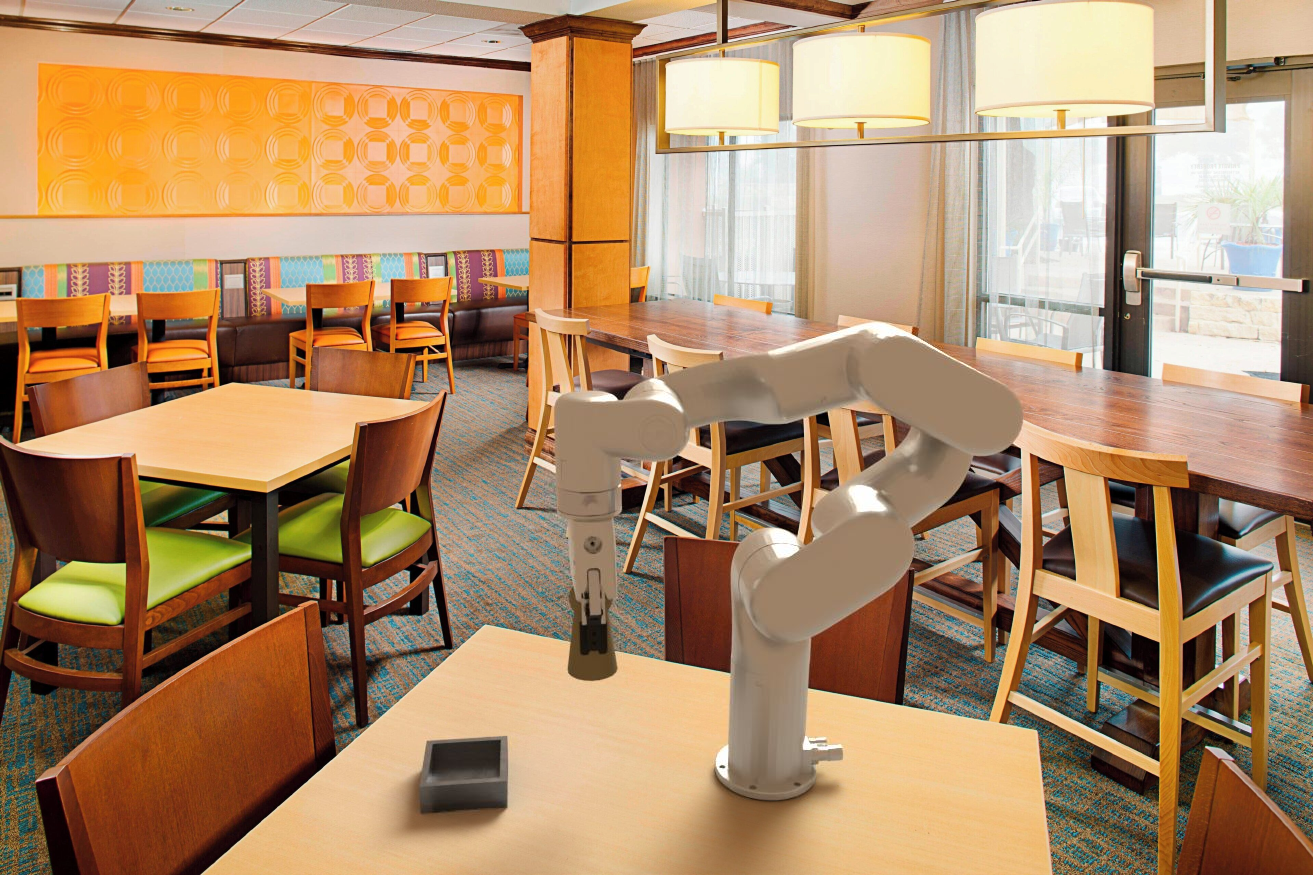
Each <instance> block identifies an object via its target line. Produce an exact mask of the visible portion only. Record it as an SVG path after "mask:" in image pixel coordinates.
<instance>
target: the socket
mask: <svg viewBox="0 0 1313 875" xmlns="http://www.w3.org/2000/svg"><path fill="white" fill-rule="evenodd" d="M508 746H509V745H508V735H500V736H483V737H482V736H481V737H469V738H468V737H467V738H466V737H465V738H450V739H449V738H448V739H433V740H426V742H425V750H424V755H423V760H422V761H423V762H422V768H421V774H420V781H419V784H418V785H419V786H418V787H419V806H420V807H419V808H420V813H419V814H430V813H431V814H433V813H434V814H435V813H446V812H447V813H448V812H459V811H460V812H461V811H462V812H463V811H474V810H489V809H491V810H492V809H500V808H501V809H503V808H504V809H505V808H508V802H509V801H508V800H509V799H508V794H509V793H508V789H509V786H508V783H509V782H508V781H509V780H508V778H509V754H508V753H509V747H508Z"/></svg>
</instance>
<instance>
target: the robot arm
mask: <svg viewBox="0 0 1313 875" xmlns="http://www.w3.org/2000/svg"><path fill="white" fill-rule="evenodd" d="M866 401H868V402H869V403H870V404H871V405H873V406H875V407H876V408H878V409H880V410H881V411H883V412H885V413H887V414H889V415H890V416H892V417H894V418H895V419H897V420H899V421H901V422H903V423H904V424H907V425H909V426H910V429H909V431H908V433H907V435H906V436H905V438H904V439H903V440H902V441H901V443H899V445H898V446H897V447H896V448H894V449H893V450H892V451H890V452H889V453H888V454H886V455H885V456H884V457H883V458H881V459H879V461H877V462H875V463H873V464H872V465H871V466H869V467H868V468H865V469H864V470H862V471H861V472H859V473H858V474H856V475H854V476H853V477H851V478H850V479H848V480H847V481H846V482H844V483H841V484H840V485H839V486H837V487H836V488H833V489H832V490H831V491H829V492H828V493H826V494H824V495H823V497H822V498H820V499H819V500H818V502H816V504H815V505H814V508H813V510H812V513H811V515H810V516H811V517H810V526H811V527H810V528H811V531H812V534H813V536H814V540H812V541H811V542H809V543H808V544H806V545H805V544H804V542H803V541H802V540H801V539H799V538H798V537H797V536H796V535H795V534H793V533H792V532H790V531H789V530H786V529H783V528H779V527H762V528H760V529H757V530H754V531H752V532H751V533H749V534H748V535H746V536H745V537H744V538H743V539H742V541H740V542H739V544H738V546H736V550H735V551H734V554H733V556H732V557H733V558H732V561H731V567H730V591H731V592H730V593H731V594H730V595H731V596H730V597H731V624H732V626H731V653H730V654H731V656H730V674H729V676H730V679H729V680H730V681H729V683H730V684H729V706H728V707H729V709H728V713H729V714H728V737H727V738H728V740H727V742H728V744H727V745H726V746H724V747H722V749H720V750H719V751H718V753H717V755H716V756H715V760H714V771H715V775H716V777H717V779H718V780H719V782H721V783H722V784H723V785H724V786H725V787H726V788H728V789H729V790H731V791H732V792H734V793H736V794H738V795H741V796H744V797H745V798H750V799H754V800H760V801H761V800H762V801H782V800H788V799H791V798H792V799H793V798H796V797H798V796H800V795H802V794H804V793H806V792H807V791H809V790H810V789H811V788H812V787H813V785H814V784H815V782H816V780H817V779H816V778H817V776H816V775H817V765H818V764H819V762H825V761H827V762H834V761H835V762H837V761H843V759H844V751H843V748H842V747H843V746H842V745H841V744H828V742H827V738H826V737H825V736H815V737H812V738H811V737H810V738H809V737H808V736H807V735H806V732H807V731H806V729H807V716H808V715H807V711H808V697H809V696H808V694H809V693H808V692H809V679H810V678H809V677H810V674H809V673H810V664H811V663H810V662H811V647H812V646H811V643H812V638H813V637H815V636H816V635H818V634H819V635H820V634H821V633H822V632H824V631H826V630H828V629H829V628H830V627H832V626H833V625H835V624H837V623H839V622H841V621H842V620H844V619H845V618H847V617H848V616H850V615H851V614H853V613H855V612H856V611H858V610H859V609H861V608H863V607H864V606H866V605H868V604H869V603H871V602H872V601H874V600H875V599H877V598H878V597H880V596H881V595H883V594H885V593H886V592H888V591H889V590H890V589H892V588H893V587H894V586H895V585H896V584H897V583H898V582H900V580H901V579H902V578H903V577H904V576H905V574H906V572H907V571H908V570H909V568H910V566H911V563H912V561H913V558H914V556H915V555H914V553H915V546H916V545H915V537H914V533H913V531H912V528H913V527H914V526H916V525H917V524H919V523H920V522H921V521H922V520H924V519H925V518H927V517H928V516H929V515H931V514H933V513H934V512H935V511H937V510H938V509H939V508H940V507H942V506H943V505H945V503H947V502H948V501H949V500H950V499H951V498H952V497H953V496H954V495H955V494H956V492H957V491H958V490H959V489H960V487H961V486H962V484H963V483H964V480H965V479H966V477H967V474H968V473H969V469H970V467H971V465H972V461H973V458H974V456H976V457H987V456H993V455H996V454H999V453H1001V452H1003V451H1004V450H1006V449H1008V448H1009V447H1010V446H1011V445H1012V444H1013V443H1014V442H1015V441H1016V440H1017V438H1018V437H1019V435H1020V432H1022V427H1023V423H1024V413H1023V406H1022V404H1021V401H1020V399H1019V398H1018V395H1017V394H1016V393H1015V392H1014V391H1013V390H1012V389H1011V388H1010V387H1009V386H1008V385H1007V384H1005V383H1004V382H1001V381H1000V380H997V379H995V378H994V377H991V376H989V375H987V374H985V373H984V372H982V371H979V370H977V369H976V368H974V367H972V366H969V365H968V364H966V363H964V362H962V361H960V360H957V359H956V358H954V357H952V356H951V355H948V354H946V353H944V352H943V351H941V350H939V349H937V348H936V347H934V346H932V345H931V344H929V343H927V342H926V341H923V340H922V339H920V338H918V337H917V336H915V335H913V334H911V333H909V332H906V331H905V330H902V329H899V328H897V327H895V326H893V325H890V324H887V323H883V322H869V323H863V324H862V323H861V324H857V325H854V326H851V327H848V328H843V329H841V330H837V331H834V332H833V331H832V332H830V333H827V334H823V335H820V336H817V337H814V338H810V339H807V340H803V341H799V342H796V343H793V344H788V345H785V346H781V347H779V348H778V347H777V348H773V349H769V350H767V351H763V352H759V353H752V354H747V355H746V354H745V355H741V356H737V357H734V358H728V359H727V358H726V359H723V360H716V361H712V362H706V363H701V364H698V365H694V366H690V367H686V368H682V369H679V370H675V371H672V372H668V373H665V374H662V375H658V376H655V377H652V378H649V379H646V380H644V381H641V382H639V383H637V384H635V385H634V386H632V387H631V388H630V390H628V391H627V393H626V394H625V395H624V397H623V399H618V398H617V397H616V396H615V395H614V394H612V393H609V392H607V391H601V390H576V391H570V392H567V393H564V394H562V395H560V396H559V397H558V398H557V399H556V400H555V402H554V406H553V427H554V458H555V459H554V460H555V462H554V463H555V488H556V493H555V494H556V513H557V515H558V516H559V517H562V518H564V519H567V538H568V541H567V542H568V544H567V545H568V555H569V556H568V557H569V565H570V574H571V579H572V587H573V586H574V591H575V597H576V600H577V601H579V602H580V603H581V619H582V622H579V630H580V653H581V655H588V654H589V652H590V651H598V652H599V654H606V653H607V651H608V647H607V620H606V619H605V594H606V596H607V598H608V599H612V602H614V601H616V600H617V599H618V577H617V576H618V575H617V546H616V531H615V529H616V528H615V521H614V520H615V519H614V517H616V516H618V515H619V514H621V512H622V511H623V509H622V508H623V506H622V505H623V504H622V503H623V502H622V500H623V499H622V495H623V494H622V491H623V490H622V459H625V460H626V459H628V460H634V461H641V462H648V463H659V462H660V463H661V462H665V461H666V462H667V461H669V460H671V459H673V458H676V457H677V456H679V454H681V453H682V452H683V451H684V449H685V448H686V446H687V445H688V443H689V440H690V436H691V430H692V429H695V428H700V427H703V426H704V427H705V426H706V425H711V424H715V423H721V422H722V423H723V422H730V421H747V422H755V423H759V424H766V425H782V424H783V425H784V424H789V423H793V422H796V421H800V420H803V419H806V418H809V417H813V416H817V415H820V414H823V413H827V412H830V411H834V410H837V409H841V408H844V407H848V406H850V405H855V404H858V403H861V402H866ZM584 593H585V594H588V593H589V597H584ZM600 593H601V596H600ZM586 604H589V608H587V609H586Z"/></svg>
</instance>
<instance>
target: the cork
mask: <svg viewBox="0 0 1313 875" xmlns="http://www.w3.org/2000/svg"><path fill="white" fill-rule="evenodd" d="M600 596H601V593H600ZM584 597H589V593H588V594H585V593H584ZM568 602H569V606H570V608H571V609H572V611H573V615H572V616H573V617H572V625H571V634H570V642H569V652H568V662H567V674H569V676H570V677H572V678H574V679H575V680H578V681H580V680H581V681H584V682H585V681H586V682H595V681H603V680H605V679H606V680H607V679H609V678H611V677H613V676H614V675H615V674H616V673H617V671H618V663H617V657H616V656H617V655H616V650H615V643H614V636H613V630H612V626H611V619H610V613H609V612H610V610H609V609H610V608H611V607H612V604H613V601H612V599H608V598H607V596H606V594H605V619H606V620H607V647H608V651H607V653H606V654H599V652H598V651H590V652H589V654H588V655H581V653H580V630H579V622H582V619H581V603H580V602H579V601H577V600H576V597H575V591H574V586H573V585H572V586H571V589H570V590H569V593H568ZM587 608H589V604H586V609H587Z"/></svg>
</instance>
